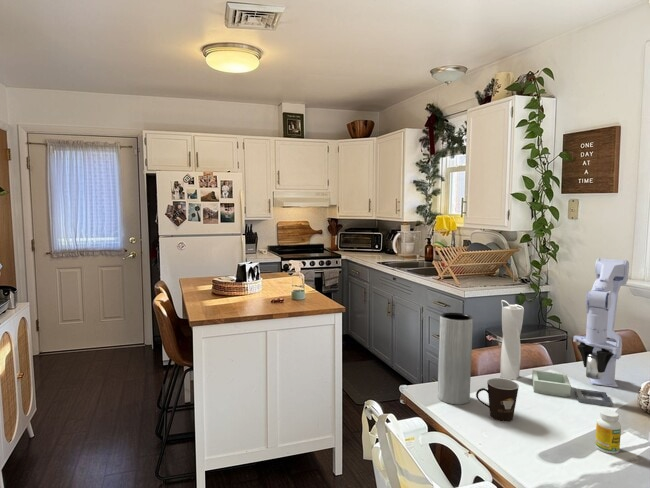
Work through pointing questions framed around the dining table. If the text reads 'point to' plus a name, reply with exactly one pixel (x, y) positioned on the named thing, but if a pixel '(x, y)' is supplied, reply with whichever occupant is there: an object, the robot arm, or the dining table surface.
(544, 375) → the bin
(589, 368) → the shiny metal cylinder
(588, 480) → the dining table surface
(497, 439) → the dining table surface
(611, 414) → the supplement bottle
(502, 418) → the coffee mug
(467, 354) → the vase
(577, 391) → the grey square frame
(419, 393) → the dining table surface
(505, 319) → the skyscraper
